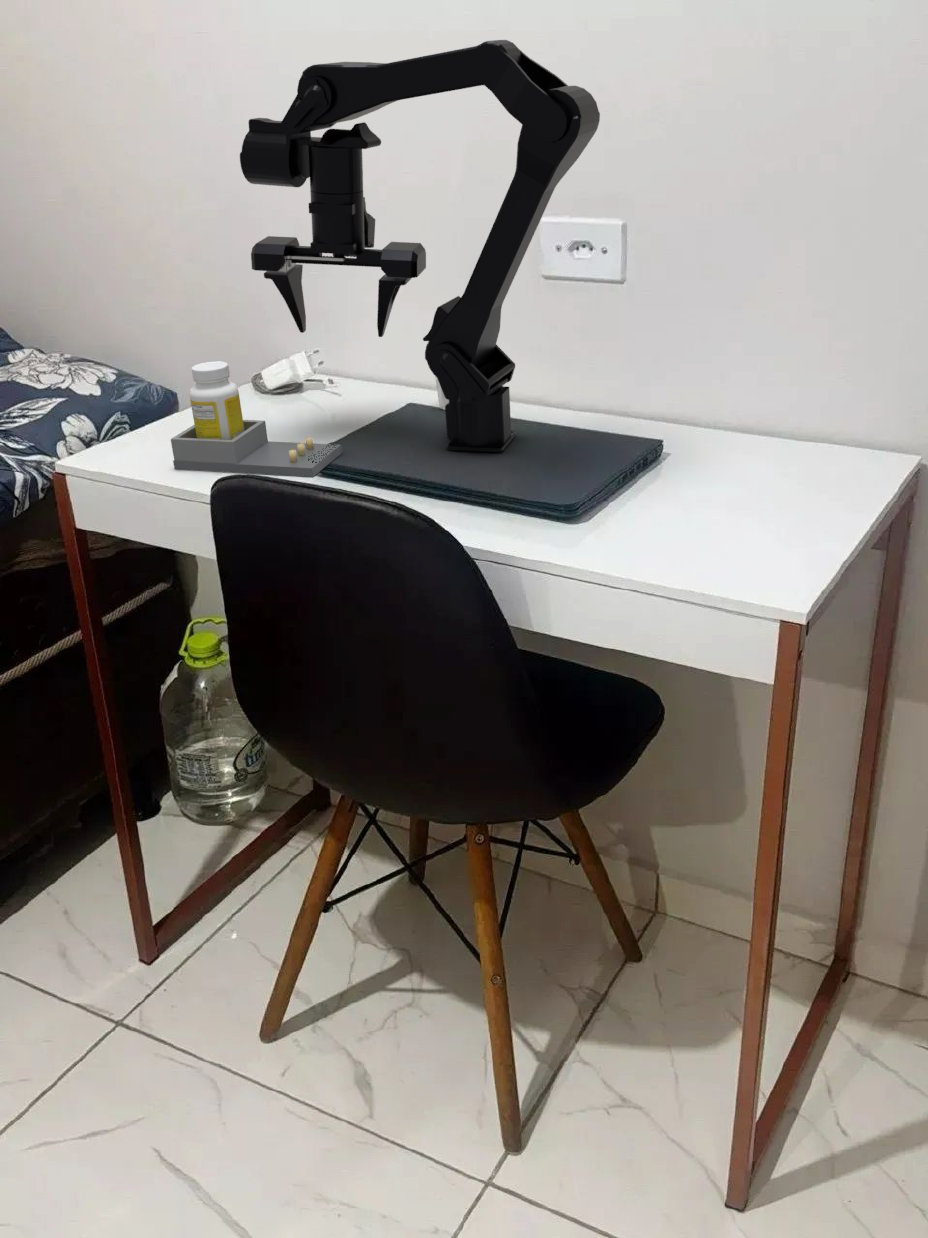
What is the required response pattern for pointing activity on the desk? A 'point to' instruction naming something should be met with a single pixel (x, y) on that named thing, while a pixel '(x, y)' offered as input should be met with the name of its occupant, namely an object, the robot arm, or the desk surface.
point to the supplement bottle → (215, 402)
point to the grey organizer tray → (250, 453)
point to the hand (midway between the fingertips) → (341, 333)
